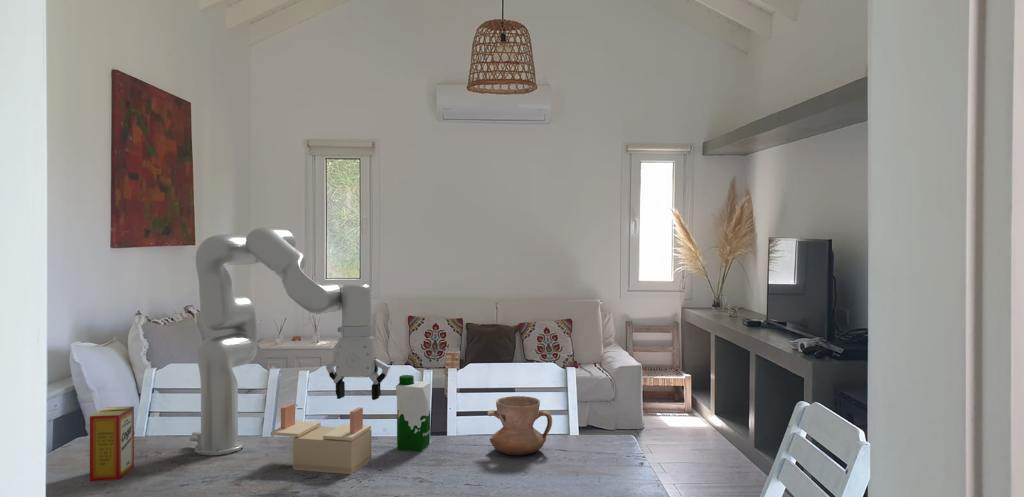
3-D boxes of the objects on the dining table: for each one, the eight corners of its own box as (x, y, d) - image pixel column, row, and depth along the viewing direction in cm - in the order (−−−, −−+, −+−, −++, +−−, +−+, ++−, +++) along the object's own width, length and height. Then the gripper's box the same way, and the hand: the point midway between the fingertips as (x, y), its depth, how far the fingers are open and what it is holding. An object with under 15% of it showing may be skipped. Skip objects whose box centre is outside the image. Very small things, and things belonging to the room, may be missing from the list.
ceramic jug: (486, 459, 184) (486, 406, 184) (488, 443, 198) (488, 394, 198) (553, 459, 184) (553, 406, 184) (551, 444, 198) (551, 394, 198)
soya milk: (403, 442, 200) (404, 373, 200) (433, 443, 198) (433, 374, 198) (392, 450, 191) (392, 378, 191) (423, 452, 189) (424, 380, 189)
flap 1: (270, 435, 177) (270, 410, 177) (294, 423, 188) (294, 400, 188) (298, 437, 175) (298, 412, 175) (320, 425, 186) (320, 402, 186)
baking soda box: (118, 479, 167) (118, 413, 167) (89, 481, 166) (89, 414, 166) (133, 467, 177) (133, 404, 177) (106, 468, 176) (106, 405, 176)
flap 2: (323, 438, 174) (323, 413, 174) (343, 426, 185) (343, 403, 185) (351, 440, 172) (351, 415, 172) (370, 428, 183) (371, 404, 183)
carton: (292, 469, 175) (292, 438, 175) (316, 455, 187) (316, 425, 187) (351, 474, 172) (351, 442, 172) (371, 459, 183) (371, 429, 183)
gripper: (319, 333, 176) (320, 400, 176) (382, 334, 172) (383, 402, 172) (333, 330, 183) (334, 394, 183) (394, 330, 179) (395, 396, 179)
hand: (358, 398), depth 178 cm, fingers open, 9 cm apart
